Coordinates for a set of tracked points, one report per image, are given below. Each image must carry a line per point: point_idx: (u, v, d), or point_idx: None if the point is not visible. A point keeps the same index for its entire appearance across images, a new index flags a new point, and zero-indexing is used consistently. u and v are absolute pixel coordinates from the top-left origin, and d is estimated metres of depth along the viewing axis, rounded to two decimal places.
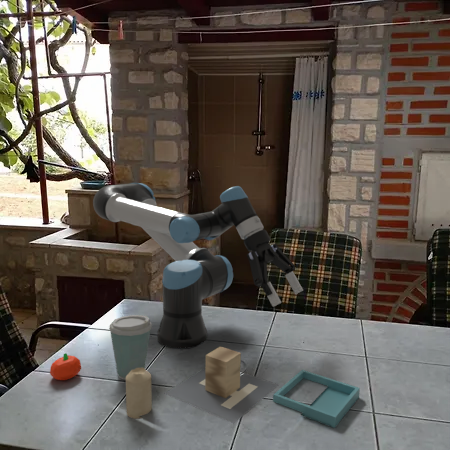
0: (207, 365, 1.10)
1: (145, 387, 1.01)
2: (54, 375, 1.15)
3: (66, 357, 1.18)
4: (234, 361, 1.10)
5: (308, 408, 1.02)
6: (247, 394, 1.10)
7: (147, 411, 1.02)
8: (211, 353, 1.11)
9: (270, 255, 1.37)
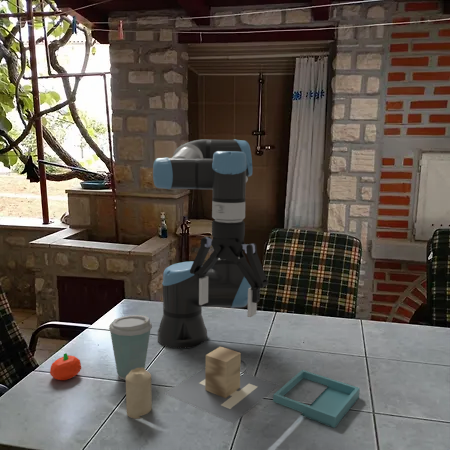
0: (207, 365, 1.10)
1: (145, 387, 1.01)
2: (54, 375, 1.15)
3: (66, 357, 1.18)
4: (234, 361, 1.10)
5: (308, 408, 1.02)
6: (247, 394, 1.10)
7: (147, 411, 1.02)
8: (211, 353, 1.11)
9: (228, 254, 1.06)
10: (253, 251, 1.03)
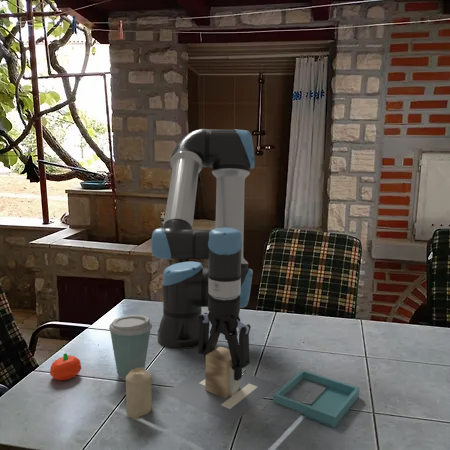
0: (207, 365, 1.10)
1: (145, 387, 1.01)
2: (54, 375, 1.15)
3: (66, 357, 1.18)
4: None
5: (308, 408, 1.02)
6: (247, 394, 1.10)
7: (147, 411, 1.02)
8: (211, 353, 1.11)
9: None
10: (246, 333, 1.06)
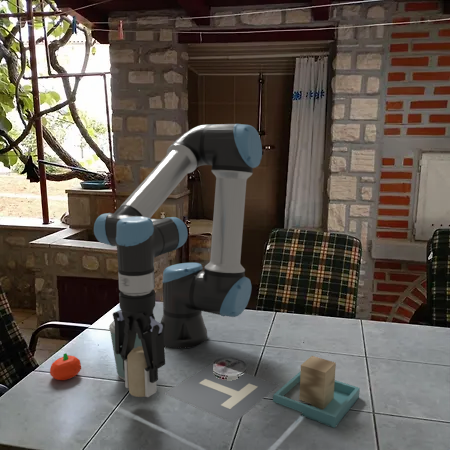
0: (302, 375, 1.07)
1: None
2: (54, 375, 1.15)
3: (66, 357, 1.18)
4: (331, 371, 1.07)
5: (308, 408, 1.02)
6: (247, 394, 1.10)
7: None
8: (306, 363, 1.08)
9: None
10: (159, 332, 0.97)
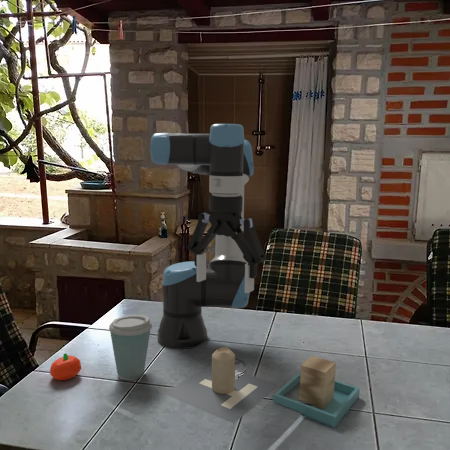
0: (302, 375, 1.07)
1: (231, 364, 1.10)
2: (54, 375, 1.15)
3: (66, 357, 1.18)
4: (331, 371, 1.07)
5: (308, 408, 1.02)
6: (247, 394, 1.10)
7: (232, 387, 1.11)
8: (306, 363, 1.08)
9: (225, 229, 1.04)
10: (250, 226, 1.01)
